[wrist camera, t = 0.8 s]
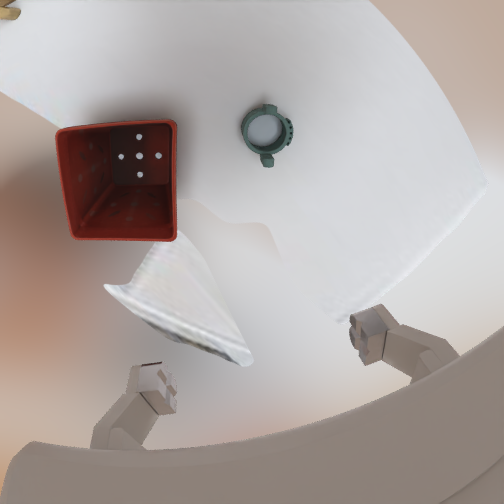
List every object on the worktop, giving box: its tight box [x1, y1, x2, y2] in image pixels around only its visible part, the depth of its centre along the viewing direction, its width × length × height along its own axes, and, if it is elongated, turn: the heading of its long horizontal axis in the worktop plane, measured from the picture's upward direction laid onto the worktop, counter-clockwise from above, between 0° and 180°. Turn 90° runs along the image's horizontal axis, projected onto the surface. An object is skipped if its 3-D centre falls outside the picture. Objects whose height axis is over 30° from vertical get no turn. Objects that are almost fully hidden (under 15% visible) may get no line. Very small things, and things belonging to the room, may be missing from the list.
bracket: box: [241, 104, 293, 168], centre depth 47 cm, size 9×9×9 cm
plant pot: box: [55, 119, 177, 242], centre depth 44 cm, size 19×19×17 cm
